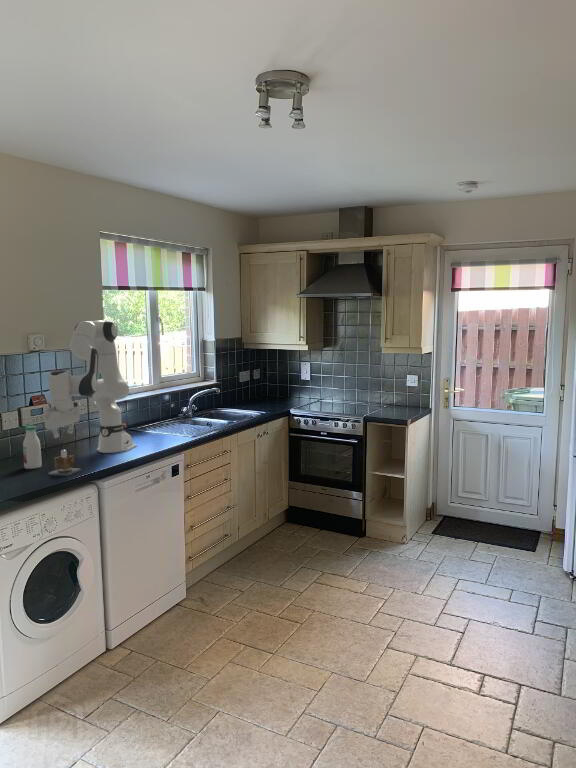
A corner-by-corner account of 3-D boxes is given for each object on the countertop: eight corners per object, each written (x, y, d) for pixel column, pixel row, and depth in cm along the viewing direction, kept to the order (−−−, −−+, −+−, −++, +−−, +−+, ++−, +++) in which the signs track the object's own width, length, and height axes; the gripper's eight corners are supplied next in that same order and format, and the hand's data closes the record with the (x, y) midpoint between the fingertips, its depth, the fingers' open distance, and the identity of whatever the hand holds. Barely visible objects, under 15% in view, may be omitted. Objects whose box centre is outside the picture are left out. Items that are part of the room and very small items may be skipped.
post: (63, 469, 270) (61, 447, 269) (81, 470, 267) (79, 448, 266) (48, 474, 260) (47, 452, 259) (67, 475, 257) (65, 453, 256)
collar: (63, 465, 267) (62, 455, 266) (74, 466, 265) (73, 455, 265) (54, 468, 261) (54, 457, 261) (66, 469, 259) (65, 458, 259)
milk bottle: (44, 465, 280) (41, 424, 278) (38, 469, 272) (35, 427, 270) (28, 465, 279) (25, 425, 278) (21, 469, 272) (18, 428, 270)
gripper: (51, 409, 250) (54, 440, 251) (80, 402, 269) (83, 431, 271) (39, 409, 251) (42, 440, 253) (69, 402, 271) (71, 430, 273)
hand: (63, 435), depth 262 cm, fingers open, 8 cm apart
